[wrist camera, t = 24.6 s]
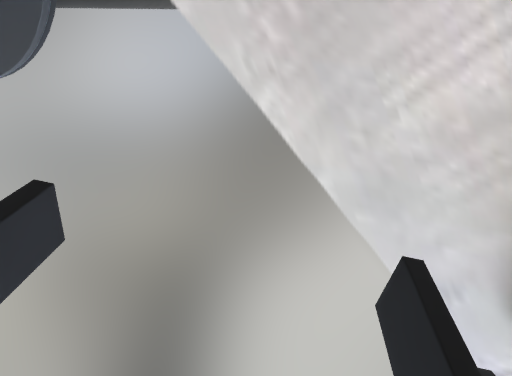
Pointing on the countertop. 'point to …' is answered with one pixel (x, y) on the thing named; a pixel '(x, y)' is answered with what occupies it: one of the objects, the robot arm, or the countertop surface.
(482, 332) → the countertop surface
